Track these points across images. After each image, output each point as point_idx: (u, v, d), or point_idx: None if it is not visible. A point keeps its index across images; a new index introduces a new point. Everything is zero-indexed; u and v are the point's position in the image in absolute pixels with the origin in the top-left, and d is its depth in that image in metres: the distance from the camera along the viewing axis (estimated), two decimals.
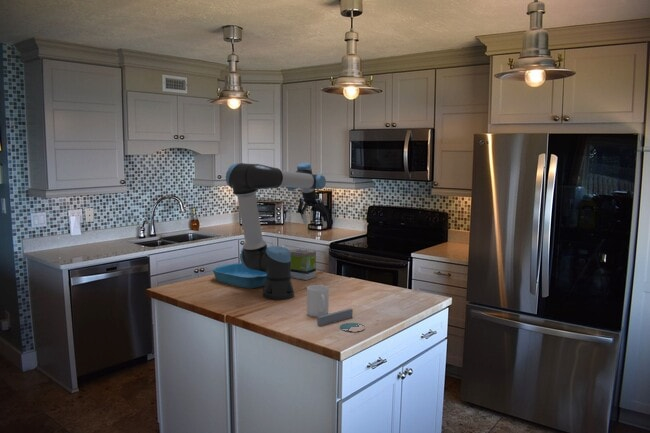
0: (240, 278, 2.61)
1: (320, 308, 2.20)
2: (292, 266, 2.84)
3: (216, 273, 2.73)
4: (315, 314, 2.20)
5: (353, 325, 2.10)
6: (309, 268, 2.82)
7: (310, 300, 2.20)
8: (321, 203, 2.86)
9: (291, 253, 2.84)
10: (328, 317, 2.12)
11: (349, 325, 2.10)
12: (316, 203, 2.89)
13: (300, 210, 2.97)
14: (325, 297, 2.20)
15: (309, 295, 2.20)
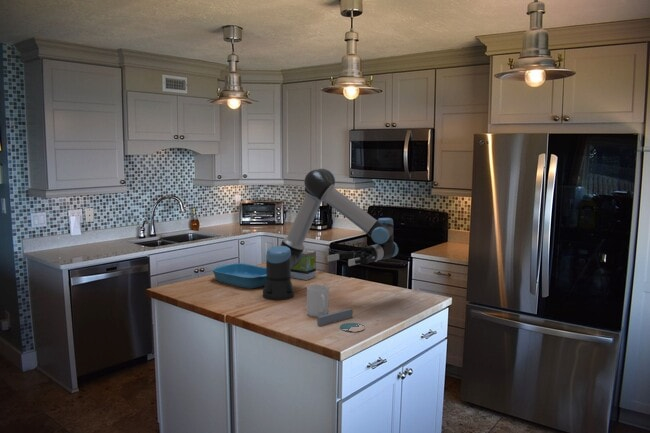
0: (240, 278, 2.61)
1: (320, 308, 2.20)
2: None
3: (216, 273, 2.73)
4: (315, 314, 2.20)
5: (353, 325, 2.10)
6: (309, 268, 2.82)
7: (310, 300, 2.20)
8: (371, 258, 2.32)
9: None
10: (328, 317, 2.12)
11: (349, 325, 2.10)
12: None
13: None
14: (325, 297, 2.20)
15: (309, 295, 2.20)
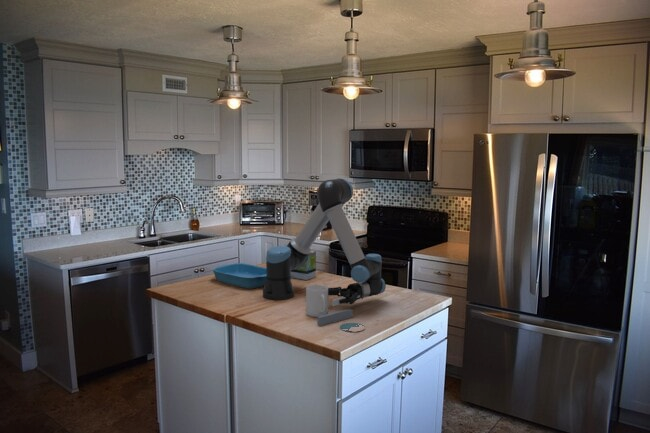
0: (239, 278, 2.61)
1: (320, 308, 2.20)
2: None
3: (216, 273, 2.73)
4: (315, 314, 2.20)
5: (353, 325, 2.10)
6: (309, 268, 2.82)
7: (310, 300, 2.20)
8: (357, 297, 2.27)
9: None
10: (328, 317, 2.12)
11: (349, 325, 2.10)
12: None
13: None
14: (325, 297, 2.20)
15: (309, 295, 2.20)
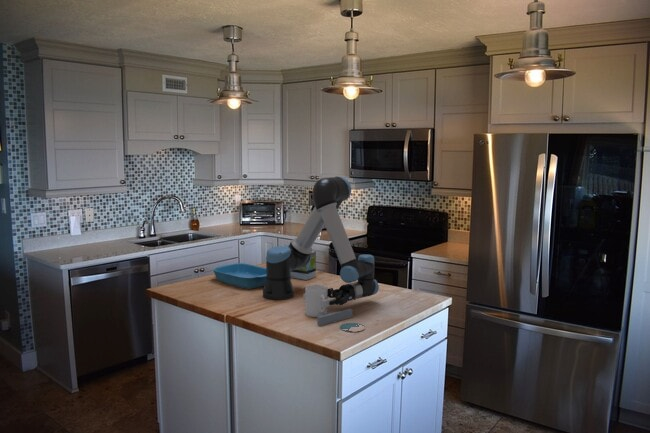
0: (238, 278, 2.61)
1: (320, 308, 2.19)
2: None
3: (216, 273, 2.73)
4: (315, 314, 2.20)
5: (353, 325, 2.10)
6: (309, 268, 2.82)
7: (310, 300, 2.20)
8: (348, 298, 2.24)
9: None
10: (328, 317, 2.12)
11: (349, 325, 2.10)
12: None
13: None
14: (325, 297, 2.20)
15: (308, 296, 2.20)
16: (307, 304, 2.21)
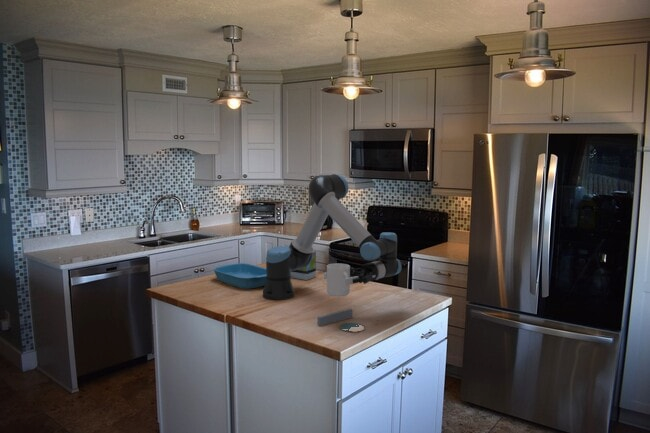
0: (236, 278, 2.61)
1: (342, 287, 2.09)
2: None
3: (216, 272, 2.74)
4: (337, 293, 2.09)
5: (353, 325, 2.10)
6: (309, 268, 2.82)
7: (332, 279, 2.09)
8: (371, 276, 2.13)
9: None
10: (328, 317, 2.12)
11: (349, 325, 2.10)
12: None
13: None
14: (347, 275, 2.09)
15: (330, 274, 2.09)
16: (329, 283, 2.10)
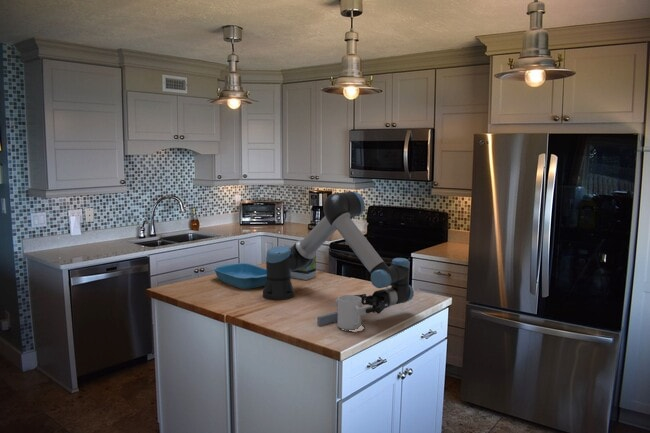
0: (234, 278, 2.61)
1: (354, 320, 2.03)
2: None
3: (216, 272, 2.75)
4: (348, 327, 2.04)
5: None
6: (309, 268, 2.82)
7: (343, 312, 2.04)
8: (384, 305, 2.08)
9: None
10: (328, 317, 2.12)
11: None
12: None
13: None
14: None
15: (342, 307, 2.04)
16: (340, 316, 2.05)
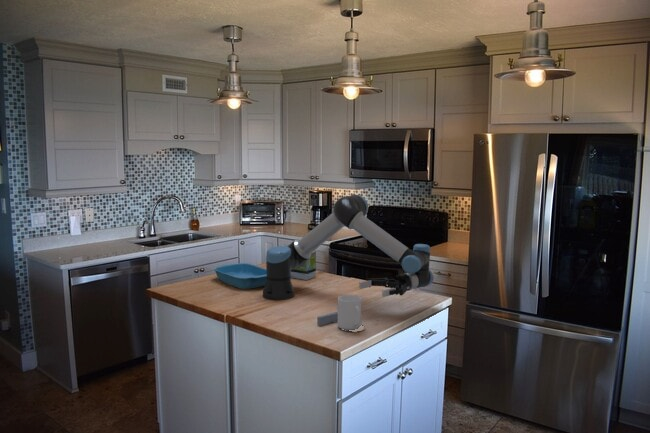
0: (234, 278, 2.61)
1: (354, 320, 2.04)
2: None
3: (216, 272, 2.75)
4: (348, 327, 2.04)
5: None
6: (309, 268, 2.82)
7: (343, 312, 2.04)
8: (406, 288, 2.17)
9: None
10: (328, 317, 2.12)
11: None
12: None
13: None
14: (359, 308, 2.04)
15: (341, 307, 2.04)
16: (340, 316, 2.05)
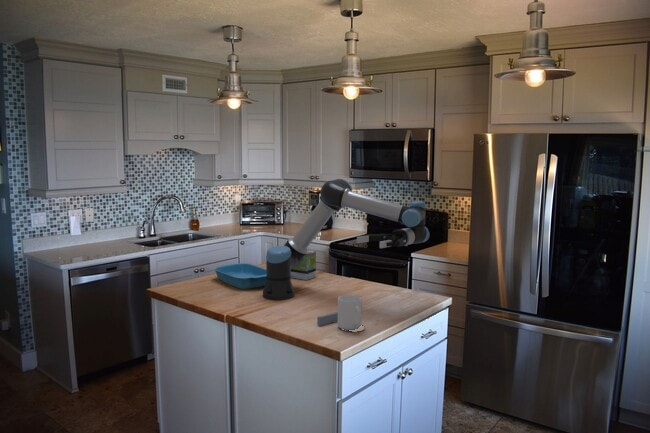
0: (233, 278, 2.61)
1: (354, 320, 2.04)
2: None
3: (216, 272, 2.75)
4: (348, 327, 2.04)
5: None
6: (309, 268, 2.82)
7: (343, 312, 2.04)
8: (403, 241, 2.23)
9: None
10: (328, 317, 2.12)
11: None
12: None
13: None
14: (359, 308, 2.04)
15: (341, 307, 2.04)
16: (340, 316, 2.05)
